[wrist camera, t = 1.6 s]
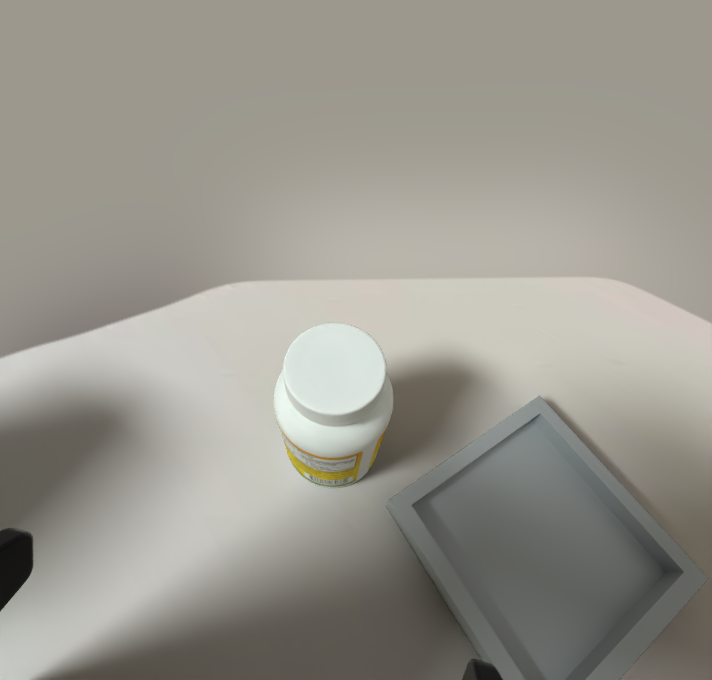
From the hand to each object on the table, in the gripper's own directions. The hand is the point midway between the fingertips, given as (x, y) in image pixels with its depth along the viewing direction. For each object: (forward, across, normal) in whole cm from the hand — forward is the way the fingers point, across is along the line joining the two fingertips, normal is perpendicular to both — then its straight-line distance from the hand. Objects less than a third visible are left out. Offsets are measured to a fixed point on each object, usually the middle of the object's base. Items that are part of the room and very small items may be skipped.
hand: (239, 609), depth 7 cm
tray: (+13, -11, +6) cm, 18 cm away
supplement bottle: (+15, 0, +5) cm, 16 cm away
